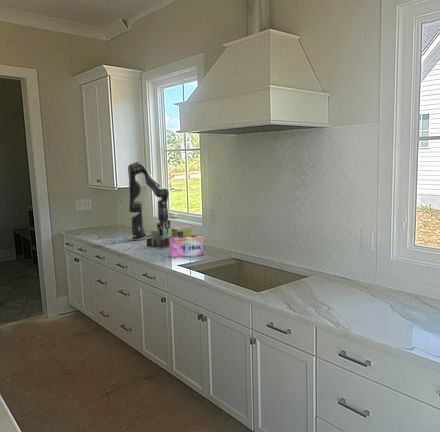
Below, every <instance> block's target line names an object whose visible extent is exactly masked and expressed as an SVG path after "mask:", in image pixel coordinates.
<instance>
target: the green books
mask: <svg viewBox="0 0 440 432" xmlns="http://www.w3.org/2000/svg"><path fill="white" fill-rule="evenodd" d="M157 232H160V231H159V230H158V229H154V230H151V231H150V235H151V236H150V238H152V246H154V239H156V233H157Z"/></svg>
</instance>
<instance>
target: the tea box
mask: <svg viewBox="0 0 440 432" xmlns="http://www.w3.org/2000/svg"><path fill="white" fill-rule="evenodd" d="M170 228H171V227H170ZM170 231H171V237H176V236H192V235H195V227H194V226H190V225H183V226H177V227H172V228H171V229H170Z"/></svg>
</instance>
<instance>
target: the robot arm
mask: <svg viewBox="0 0 440 432" xmlns="http://www.w3.org/2000/svg"><path fill="white" fill-rule="evenodd" d="M127 173H128V174H127V175H128V211H129V212H130V213H136V214H135V215H133V216H131V217H130V219H131V220H130V221H131V233H132V236H131V237H132V241H143V240H145V239H146V238H150V237H151V234H149V235H147V234H146V232H145V228H144V220H143V219H144V218H143V204H142V201H135V200H136V199H137V198H138V197H139V196H140V194H141V192H142V186H141V185H142V184H141V183H140V182H139V181H138V180H137V179H136V176H137V175H140V174H142V175H143V176H144V182H145V184H146V185H147V187H149V188H150V189H151V191H152V192H153V195H154V196H155V197H157V198H160V199H159V200H158V201H157V218H158V220H159V222H157V223H156V227H157V230H159V231H160V235H161V236H162V235H163V229H165V228H167V233H168V234H169V230H170V228H171V220H170V219H169V209H168V200H169V196H170V195H169V193H170V192H169V190H168V187H167V188H166V187H160V186H161V185H160V183H159V182H158V180H156V179H155V178H154V177H153V176H152V175H151V174H150V172H149V170H147V168H146V167H145V166H144V164H143V163H142V162H140V161H135V162H132V163H130V164H129V165H128V166H127Z"/></svg>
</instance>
